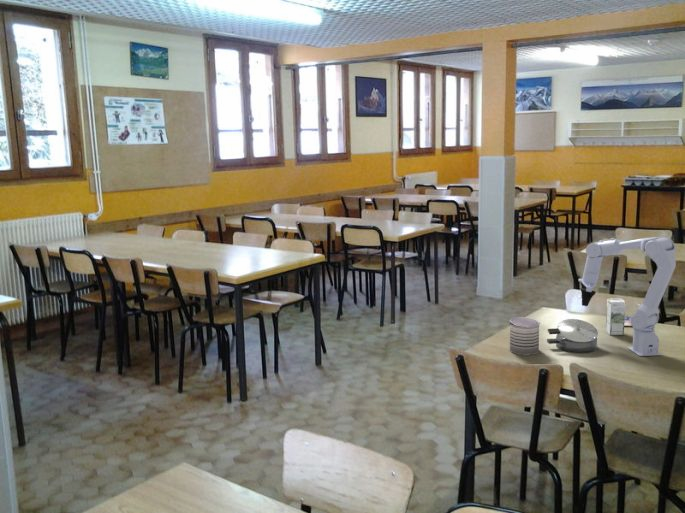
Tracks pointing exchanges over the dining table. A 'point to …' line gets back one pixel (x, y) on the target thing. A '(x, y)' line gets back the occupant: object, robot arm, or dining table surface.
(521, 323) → the can
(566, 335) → the cooker lid
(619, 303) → the syrup box
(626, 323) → the smartphone
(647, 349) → the robot arm
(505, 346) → the dining table surface
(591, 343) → the cooker pot
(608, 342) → the dining table surface
